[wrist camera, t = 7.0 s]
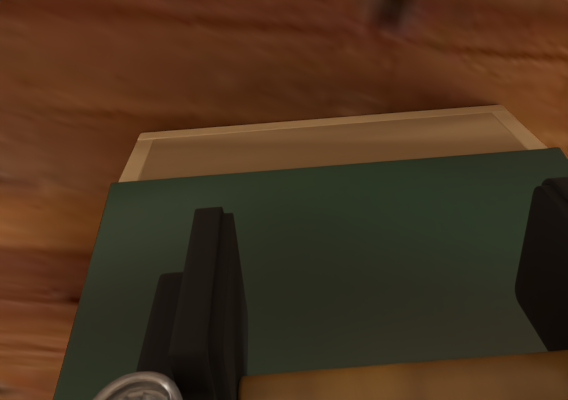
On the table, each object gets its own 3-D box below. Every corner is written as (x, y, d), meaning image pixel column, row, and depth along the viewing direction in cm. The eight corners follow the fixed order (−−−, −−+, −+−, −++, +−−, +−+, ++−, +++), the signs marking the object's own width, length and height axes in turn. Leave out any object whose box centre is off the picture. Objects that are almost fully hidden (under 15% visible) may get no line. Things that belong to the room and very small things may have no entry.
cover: (844, 604, 10) (1132, 520, 7) (-3, 672, 10) (-188, 626, 7) (553, 163, 20) (604, 28, 16) (116, 197, 20) (68, 70, 16)
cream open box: (470, 309, 31) (502, 375, 27) (185, 332, 31) (174, 401, 27) (501, 104, 24) (550, 149, 20) (140, 132, 24) (116, 183, 20)
